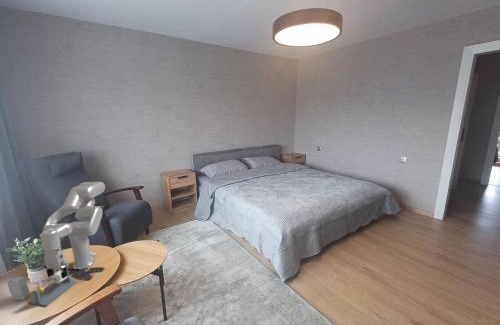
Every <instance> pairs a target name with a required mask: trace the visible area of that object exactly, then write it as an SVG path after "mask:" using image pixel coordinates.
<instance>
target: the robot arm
mask: <svg viewBox="0 0 500 325" xmlns="http://www.w3.org/2000/svg"><path fill="white" fill-rule="evenodd" d="M105 189H106V185H105V183H104V182H103V181H84V182H81V183H79V184H78V186H73V187H72V188H71V189H70V190H69V193H68V194H67V196H66V198H65V200H64V203H63V205H62V206H61V207H60V208H58V209H57V210H55V212H53V213H52V214H51V215H50V216H49V217H48V218H47V219H46V222H45V224H44V226H43V228H42V232H41V234H40V238H41V243H42V248H43V253H44V255H43V256H44V262H42V265H43V267H44V268H45V271H46V274H47V277H48V278H50V277H51V276H52V275H53V274H55V271H54V270H58V271H59V270H60V271H61V277H62V279H63V278H65V277H66V276H68V273H69V272H68V273H67V270H68V271H69V267H70V264H69V263H68V262H67V258H66V254H65V253H64V250H62V249H63V248H62V243H61V240H60V239H62V238H65V237H66V236H67V237H68V238H69V240H70V245H71V250H72V255H73V260H74V263H73V264H72V268H73V270H76V269H79V270H84V269H86V268H88V267H89V268H90V266H92V265H93V264H94V263H95V262H96V258H95V257H94V256H95V255H97V254H98V251H96V250H95V251H93V252H92V250H91V246H90V240H89V237H88V236H94V235H95V234H96V233H97V232H98V230H99V226H100V223H101V220H102V218H103V208H102V207H101V206H96V205H95V204H96V199H95V197H97V196H99V195H101V194H102V193H104V192H105ZM74 213H75V216H74V217H75V219H76V220H77V221H72V222H70V223H68V222H66V223H63V222H62V223H59V221H61V219H63V218H65V217H66V216H69V215H71V214H74Z"/></svg>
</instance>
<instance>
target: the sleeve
mask: <svg viewBox="0 0 500 325" xmlns="http://www.w3.org/2000/svg"><path fill="white" fill-rule="evenodd" d="M50 277H51V281H53V280H54V279H55V278H56V279H57V280H56V281H54V282H53V283H52V284H54V283H60V282H62V281H63V280H64V279H66V278H67V276H66V277H65V278H63V279H62V277H61V271H60V270H58V271H56V272H54V274H53V275H52V276H50Z"/></svg>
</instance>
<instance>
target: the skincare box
mask: <svg viewBox="0 0 500 325" xmlns="http://www.w3.org/2000/svg"><path fill="white" fill-rule="evenodd" d="M6 284H7V286H8V289H9V292H10V295H11V299H12V300H13V301H21V300H22V301H23V300H25V299H26V298H28V297H29V296H30V295H31V292H30V289H29V285H28V283H27V279H26V277H25V276H18V277H16V276H15V277H13V278H11V279H10V280H8V281H7V282H6Z"/></svg>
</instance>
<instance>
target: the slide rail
mask: <svg viewBox="0 0 500 325" xmlns="http://www.w3.org/2000/svg"><path fill="white" fill-rule="evenodd" d="M67 273H68V276H67V278H66V279H64V280H63V281H62V282H60V283H53V282H54V281H56V280H57V279H56V278H55V279H54V280H53V281H52V280H51V281H49V283H46V285H44V286H43V287H41V286H40V287H38V288H37V289H33V290H32V295H33V296H32V297H33V298H31V299H30V300H29V301H28V302H27V304H28V305H34V306H40V307H48V306H50V304H52V303H53V302H54V301H56V300H57V299H58V298H59V297H61V296H62V295H63V294H65V292H67V291H68V290H70V289H71V288H72V287H73V286H74V285H75V284H77V283H78V282H77V281H78V280H72V278H71V277H70V273H69V269H68V270H67Z"/></svg>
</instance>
